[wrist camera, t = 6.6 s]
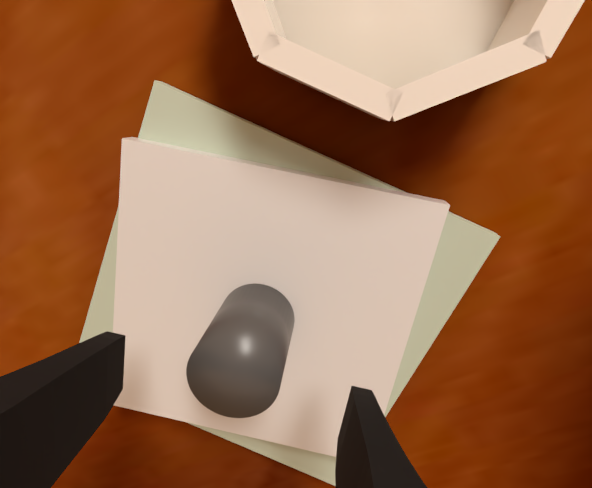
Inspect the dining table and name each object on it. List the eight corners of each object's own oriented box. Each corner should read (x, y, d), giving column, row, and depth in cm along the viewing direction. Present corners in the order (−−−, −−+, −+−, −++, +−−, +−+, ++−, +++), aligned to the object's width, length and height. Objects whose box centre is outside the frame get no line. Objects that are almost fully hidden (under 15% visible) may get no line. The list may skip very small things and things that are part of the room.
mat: (494, 232, 16) (500, 236, 15) (340, 477, 21) (340, 488, 20) (161, 81, 16) (154, 80, 15) (78, 365, 20) (70, 372, 20)
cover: (444, 200, 15) (488, 238, 11) (367, 450, 19) (375, 556, 15) (132, 136, 16) (47, 147, 11) (118, 393, 20) (51, 478, 15)
